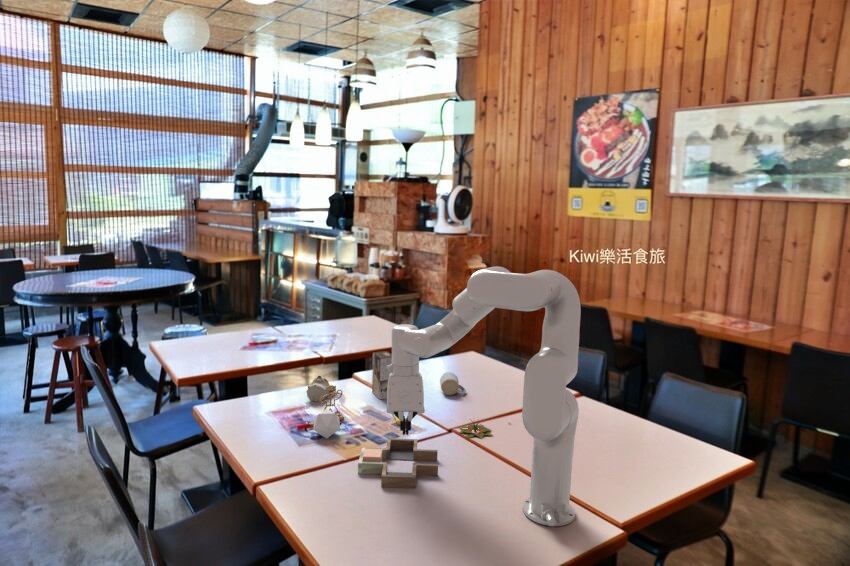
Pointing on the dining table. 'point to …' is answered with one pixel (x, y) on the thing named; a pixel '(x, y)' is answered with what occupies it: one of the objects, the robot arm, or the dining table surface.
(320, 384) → the ceramic sculpture
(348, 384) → the dining table surface
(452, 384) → the ceramic mug
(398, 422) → the candy bar
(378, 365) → the coffee box
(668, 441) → the dining table surface
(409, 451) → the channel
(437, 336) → the robot arm
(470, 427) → the lily flower
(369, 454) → the block
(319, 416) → the die
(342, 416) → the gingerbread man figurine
